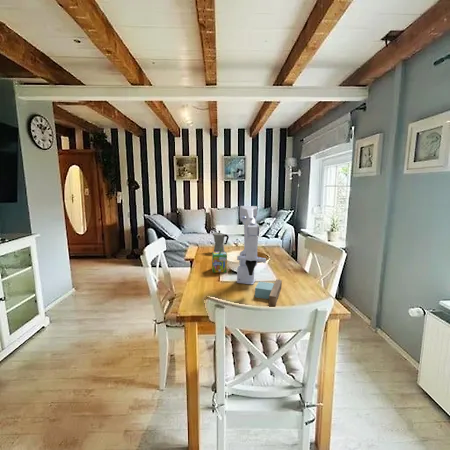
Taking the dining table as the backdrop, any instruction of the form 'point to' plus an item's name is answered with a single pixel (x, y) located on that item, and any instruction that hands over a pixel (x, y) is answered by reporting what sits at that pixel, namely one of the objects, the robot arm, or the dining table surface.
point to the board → (275, 292)
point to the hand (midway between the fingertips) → (250, 274)
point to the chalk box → (219, 262)
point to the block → (263, 290)
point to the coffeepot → (219, 241)
